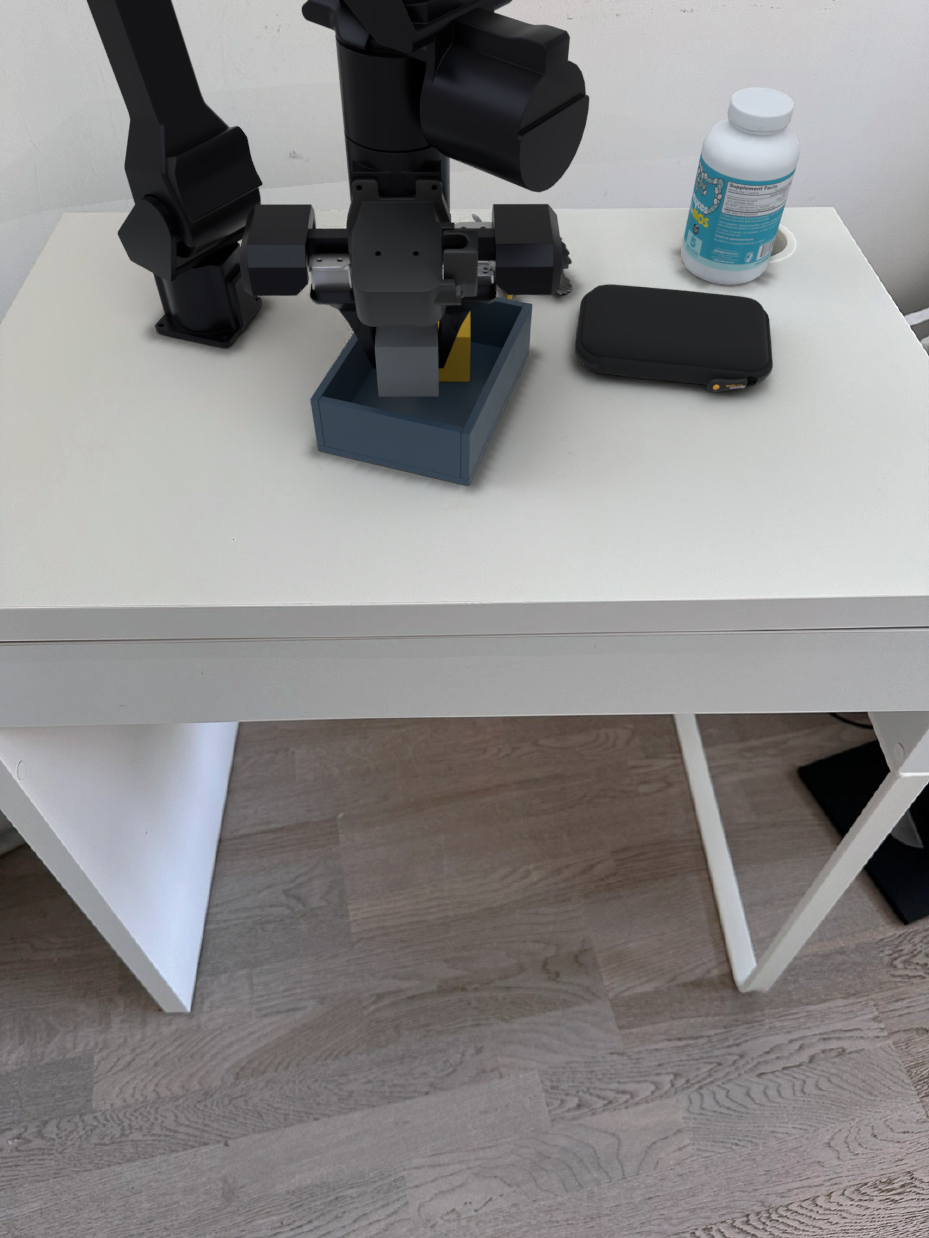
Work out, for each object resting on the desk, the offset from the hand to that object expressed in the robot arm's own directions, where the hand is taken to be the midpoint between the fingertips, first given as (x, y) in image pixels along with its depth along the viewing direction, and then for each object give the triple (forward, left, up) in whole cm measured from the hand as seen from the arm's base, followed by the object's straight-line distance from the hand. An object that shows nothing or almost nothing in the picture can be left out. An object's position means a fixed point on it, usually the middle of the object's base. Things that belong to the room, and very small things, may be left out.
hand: (408, 365), depth 63 cm
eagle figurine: (+2, +19, -6) cm, 20 cm away
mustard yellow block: (0, +7, -5) cm, 9 cm away
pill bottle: (+18, +28, -6) cm, 34 cm away
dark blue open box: (0, +3, -6) cm, 7 cm away
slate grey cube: (0, 0, -1) cm, 1 cm away
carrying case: (+16, +14, -6) cm, 22 cm away
